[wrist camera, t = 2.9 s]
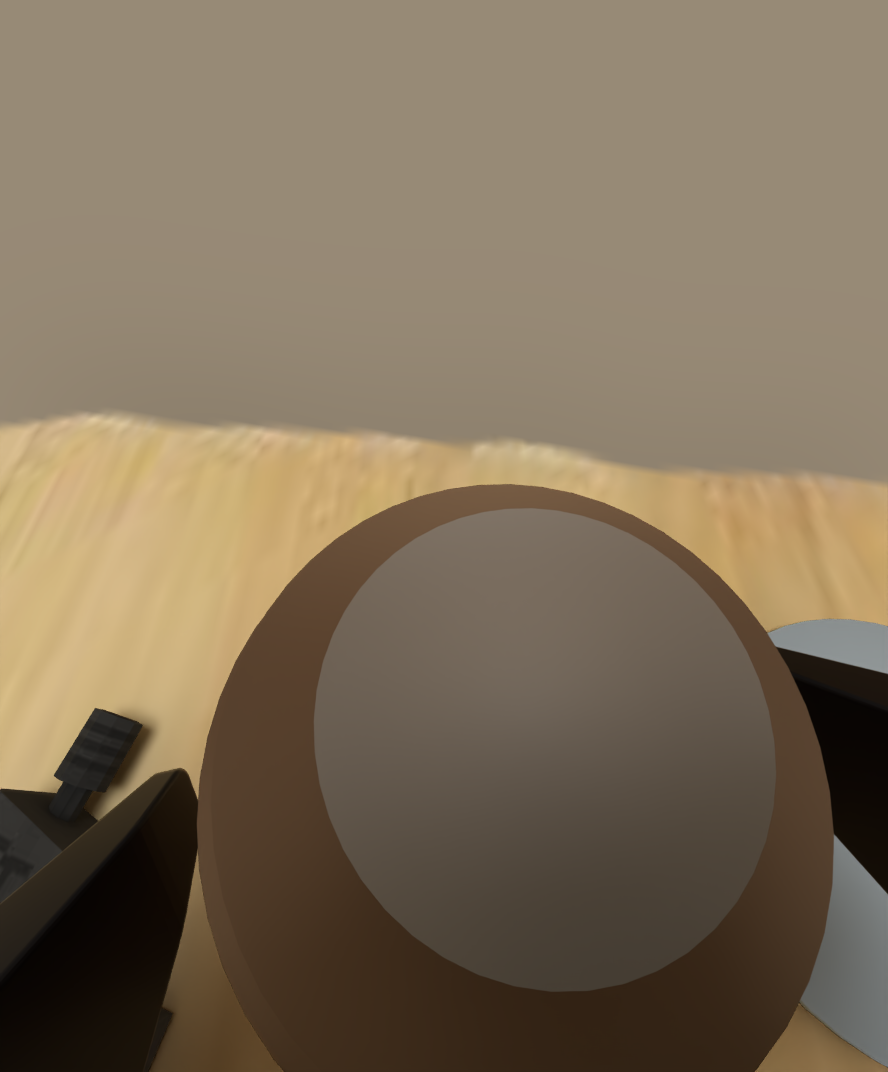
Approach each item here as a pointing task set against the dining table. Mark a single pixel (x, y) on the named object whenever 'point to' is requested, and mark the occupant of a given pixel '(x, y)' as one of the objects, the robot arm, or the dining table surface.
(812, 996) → the slate mat
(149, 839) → the robot arm
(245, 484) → the dining table surface
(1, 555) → the dining table surface
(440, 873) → the pepper mill
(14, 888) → the firearm
